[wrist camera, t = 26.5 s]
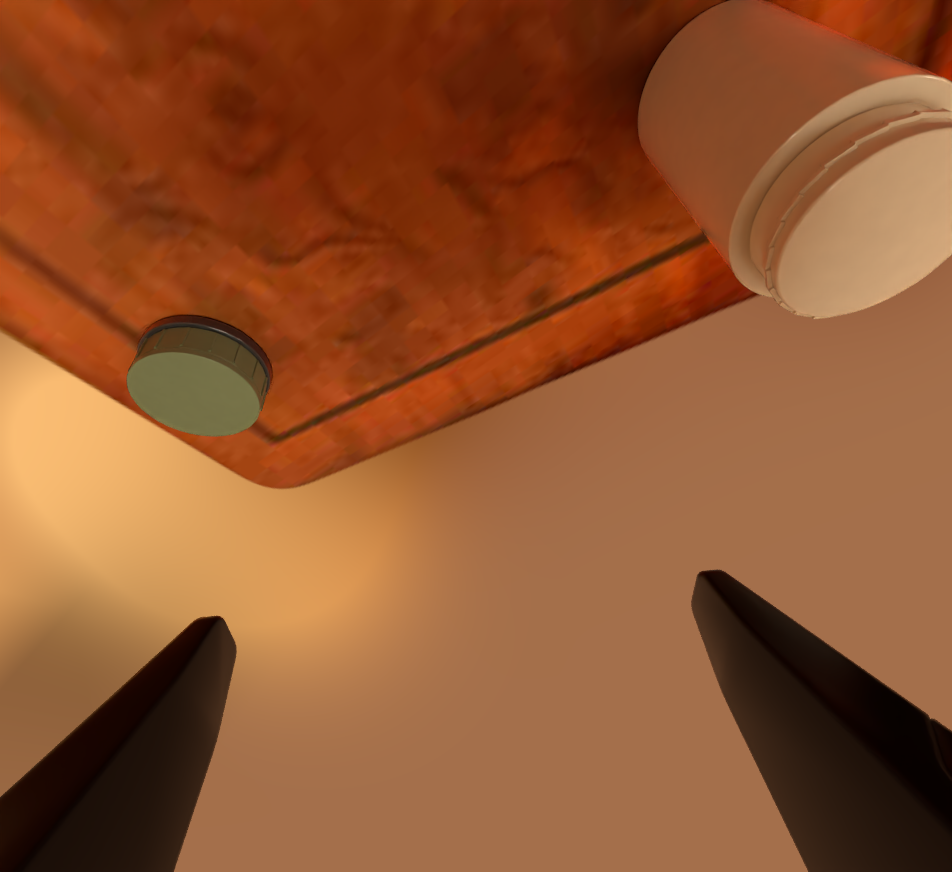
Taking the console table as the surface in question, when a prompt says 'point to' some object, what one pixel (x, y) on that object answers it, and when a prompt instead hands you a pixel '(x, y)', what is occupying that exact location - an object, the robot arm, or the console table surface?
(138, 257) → the console table surface
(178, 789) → the robot arm
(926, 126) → the jar
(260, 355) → the coaster
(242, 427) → the lid
